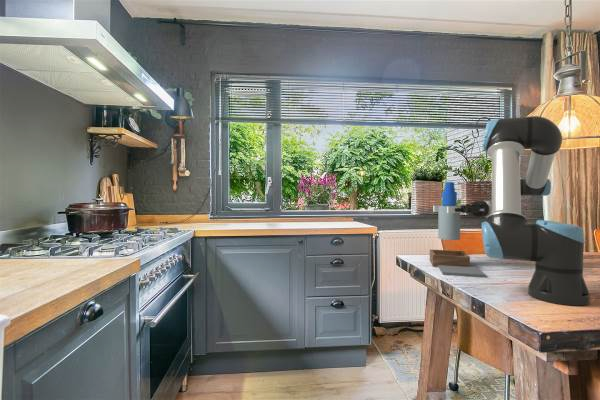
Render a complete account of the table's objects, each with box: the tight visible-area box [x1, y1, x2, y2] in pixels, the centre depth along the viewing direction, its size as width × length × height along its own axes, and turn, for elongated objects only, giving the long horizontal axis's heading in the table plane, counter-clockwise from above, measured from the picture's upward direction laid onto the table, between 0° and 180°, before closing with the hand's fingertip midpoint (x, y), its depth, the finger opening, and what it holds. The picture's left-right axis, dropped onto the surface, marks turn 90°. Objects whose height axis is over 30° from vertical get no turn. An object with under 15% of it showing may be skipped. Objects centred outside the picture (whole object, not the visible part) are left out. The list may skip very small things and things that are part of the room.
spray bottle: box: [437, 181, 461, 241], centre depth 153 cm, size 9×9×25 cm
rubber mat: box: [438, 265, 487, 278], centre depth 138 cm, size 13×15×1 cm
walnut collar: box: [429, 249, 471, 268], centre depth 153 cm, size 14×14×5 cm
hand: (440, 209), depth 151 cm, fingers closed on spray bottle, 9 cm apart
